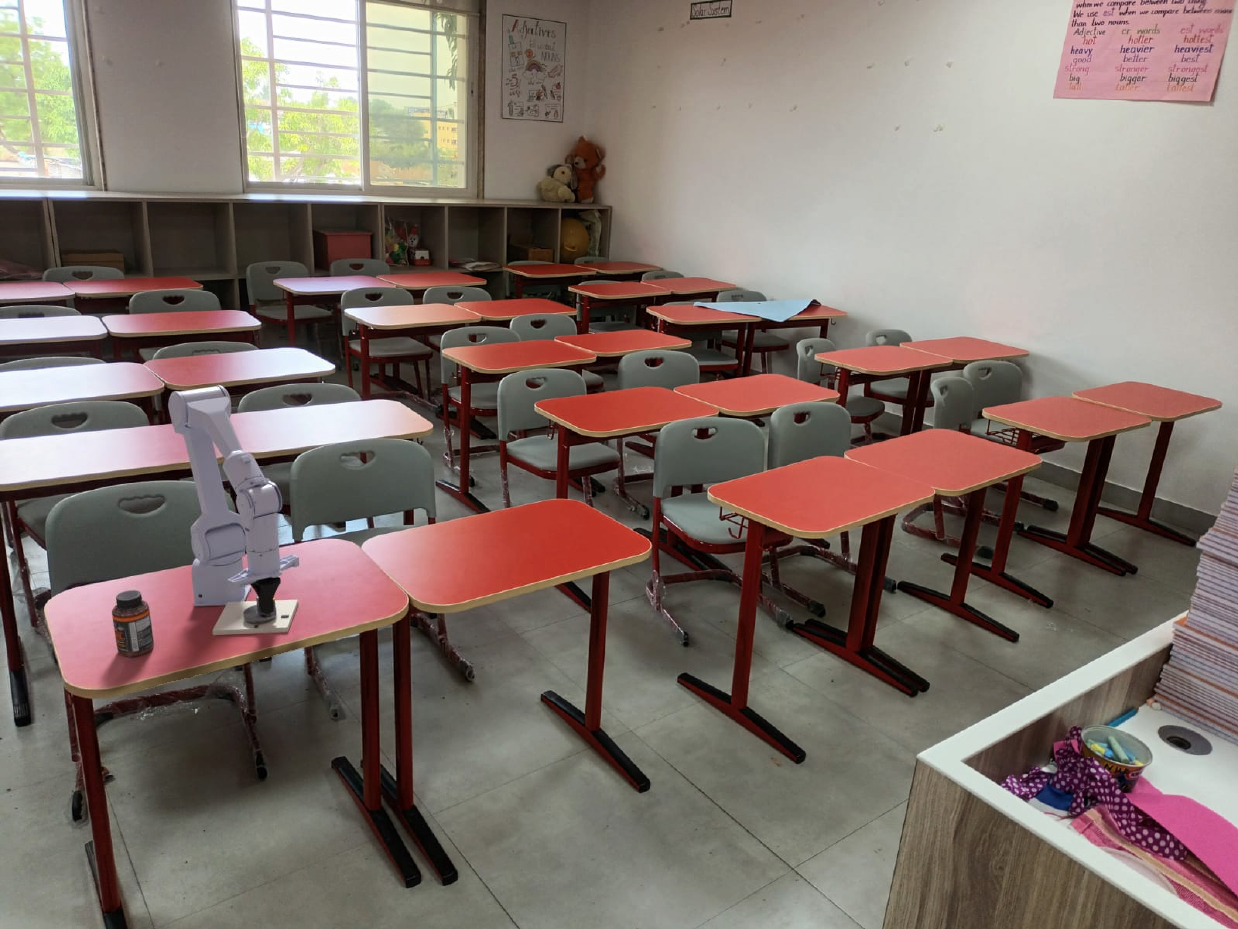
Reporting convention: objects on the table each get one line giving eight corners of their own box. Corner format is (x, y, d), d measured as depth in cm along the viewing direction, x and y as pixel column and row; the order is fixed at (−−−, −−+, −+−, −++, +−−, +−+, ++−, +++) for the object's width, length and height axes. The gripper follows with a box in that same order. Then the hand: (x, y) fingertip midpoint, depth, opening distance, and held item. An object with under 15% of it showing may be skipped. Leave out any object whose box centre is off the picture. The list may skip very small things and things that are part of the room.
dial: (237, 618, 169) (234, 596, 168) (262, 606, 174) (260, 584, 173) (261, 628, 166) (259, 605, 164) (286, 616, 171) (285, 593, 169)
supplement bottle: (111, 651, 158) (102, 595, 155) (143, 638, 163) (135, 584, 160) (128, 661, 155) (120, 605, 152) (161, 648, 160) (153, 593, 156)
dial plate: (213, 635, 165) (212, 629, 165) (228, 606, 176) (227, 600, 176) (287, 632, 168) (287, 626, 167) (298, 603, 179) (297, 598, 178)
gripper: (243, 564, 155) (248, 632, 159) (308, 539, 167) (312, 603, 171) (218, 554, 159) (224, 621, 163) (283, 531, 171) (288, 593, 175)
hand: (267, 611), depth 167 cm, fingers closed, pressing on dial
